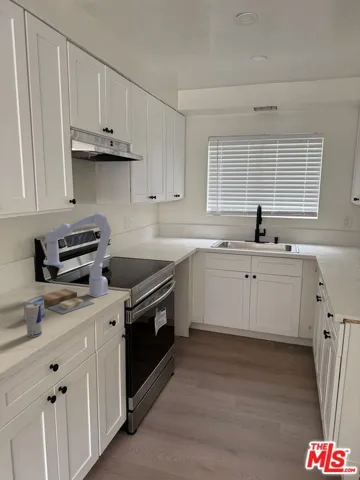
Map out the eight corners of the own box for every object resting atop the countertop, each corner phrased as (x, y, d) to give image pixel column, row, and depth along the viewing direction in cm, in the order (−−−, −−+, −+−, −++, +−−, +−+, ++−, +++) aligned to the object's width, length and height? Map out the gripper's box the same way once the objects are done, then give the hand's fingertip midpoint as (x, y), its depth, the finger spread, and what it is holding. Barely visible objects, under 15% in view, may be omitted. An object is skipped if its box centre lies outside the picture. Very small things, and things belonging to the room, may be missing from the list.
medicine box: (33, 322, 142) (31, 302, 140) (24, 320, 143) (23, 301, 142) (45, 315, 149) (44, 297, 148) (36, 314, 151) (35, 296, 149)
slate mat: (78, 298, 172) (78, 297, 172) (94, 303, 165) (94, 302, 165) (47, 308, 158) (47, 307, 158) (62, 314, 151) (62, 313, 151)
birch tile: (83, 300, 162) (83, 304, 163) (75, 297, 166) (75, 301, 166) (67, 305, 155) (67, 309, 156) (59, 302, 159) (60, 306, 159)
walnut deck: (65, 294, 177) (65, 288, 177) (77, 298, 171) (76, 292, 171) (37, 303, 164) (37, 296, 164) (49, 307, 158) (49, 300, 158)
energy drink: (45, 332, 132) (43, 303, 130) (36, 338, 127) (34, 308, 125) (33, 330, 134) (31, 302, 132) (24, 336, 129) (22, 307, 127)
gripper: (37, 253, 171) (39, 278, 174) (54, 257, 163) (55, 283, 165) (49, 251, 177) (51, 275, 179) (66, 254, 169) (67, 280, 171)
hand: (54, 279), depth 173 cm, fingers closed
